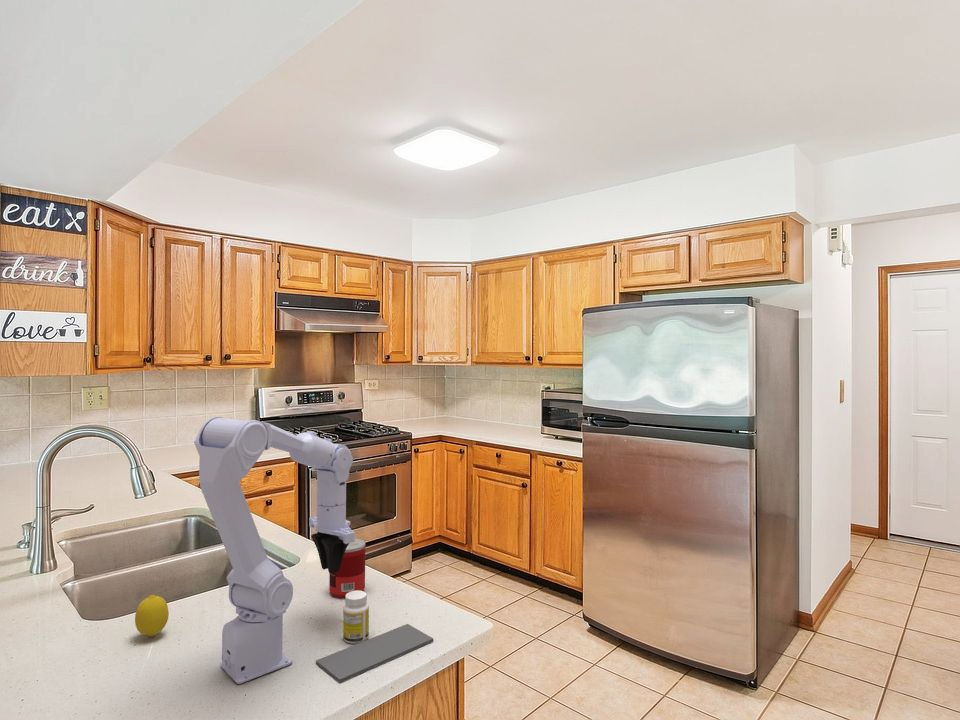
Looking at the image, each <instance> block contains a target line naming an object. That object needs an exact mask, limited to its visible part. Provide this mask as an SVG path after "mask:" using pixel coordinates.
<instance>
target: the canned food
mask: <svg viewBox="0 0 960 720" xmlns="http://www.w3.org/2000/svg"><path fill="white" fill-rule="evenodd" d="M328 573H329V572H328ZM328 579H329V584H328V585H329V587H328V588H329V589H328V590H329V594H330V596H332V597H333V596H334V598H336V597H338V598H337V599H342V598H345V596H346V594H347V593H349V592H351V591H364V592H365V587H366V542H365V541H364V539H360V538H355V542H352V543H349V544H348V546H347V548H346V550H345V553H344V556H343V559H342V563H341V567H340V570H339V571H338V572H334V573H329V577H328Z"/></svg>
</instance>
